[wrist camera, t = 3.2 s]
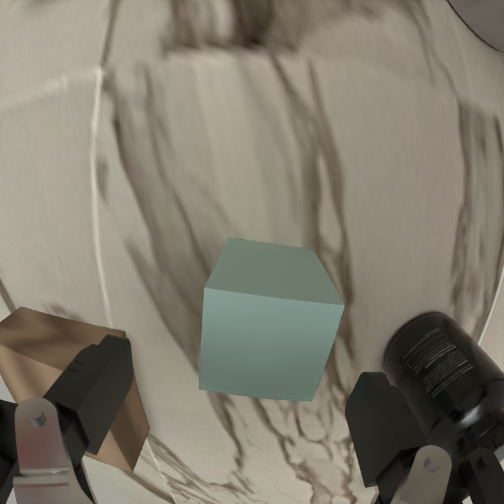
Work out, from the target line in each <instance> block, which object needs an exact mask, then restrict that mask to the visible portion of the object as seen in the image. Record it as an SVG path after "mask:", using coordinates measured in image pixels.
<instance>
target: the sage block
mask: <svg viewBox="0 0 504 504" xmlns="http://www.w3.org/2000/svg"><path fill="white" fill-rule="evenodd" d="M344 307H345V305H344V303H343V301H342V299H341V298H340V296H339V294H338V292H337V290H336V288H335V286H334V285H333V283H332V281H331V279H330V277H329V276H328V274H327V272H326V270H325V268H324V267H323V265H322V263H321V261H320V259H319V258H318V256H317V254H316V252H315V251H314V250H312V249H305V248H298V247H291V246H285V245H278V244H271V243H263V242H256V241H249V240H242V239H235V238H228V240H227V242H226V244H225V246H224V248H223V250H222V252H221V254H220V256H219V258H218V260H217V262H216V264H215V266H214V268H213V270H212V273H211V275H210V277H209V279H208V281H207V283H206V285H205V287H204V299H203V314H202V331H201V351H200V375H199V389H201V390H207V391H213V392H219V393H226V394H233V395H240V396H248V397H257V398H267V399H278V400H292V401H312V399H313V397H314V394H315V392H316V389H317V387H318V384H319V381H320V379H321V376H322V373H323V371H324V368H325V365H326V362H327V360H328V357H329V354H330V351H331V348H332V345H333V342H334V339H335V336H336V333H337V330H338V327H339V323H340V320H341V317H342V314H343V310H344Z"/></svg>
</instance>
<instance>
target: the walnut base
mask: <svg viewBox="0 0 504 504" xmlns="http://www.w3.org/2000/svg"><path fill="white" fill-rule="evenodd" d="M107 334H112V335H115V336H119V337H123V338H126V335H125V331H120V330H115V329H110V328H105V327H100V326H96V325H91V324H86V323H82V322H78V321H73V320H69V319H65V318H61V317H57V316H53V315H50V314H46V313H42V312H39V311H35V310H32V309H28V308H25V307H20V308H19V309H17V310H16V311H14V312H13V313H12V314H10V315H9V316H8V317H6V318H5V319H4V320H3V321H1V322H0V374H1V376H2V378H3V380H4V382H5V384H6V386H7V388H8V390H9V391H10V393H11V395H12V397H13V399H14V400H15V402H16V404H20V403H21V402H22V401H24V400H25V399H28V398H32V397H40V398H42V397H43V396H44V395H45V394H46V392H47V391H48V390H49V388H50V387H51V386H52V385H53V383H54V382H55V381H56V380H57V378H58V377H59V376H60V375H61V374H62V372H63V371H64V370H65V369H67V366H68V365H69V364H70V363H71V361H73V359H74V358H75V357H76V355H77V354H78V353H79V352H80V351H81V350H82V349H84V348H86V347H88V346H89V345H91V344H96V345H98V344H99V343H100V342H101V341H102V340H103V338H104V337H105V336H106V335H107ZM149 429H150V428H149V425H148V422H147V418H146V415H145V412H144V409H143V405H142V402H141V398H140V395H139V391H138V387H137V384H136V380H135V376H134V372H133V382H132V385H131V388H130V390H129V392H128V394H127V396H126V398H125V400H124V402H123V403H122V405H121V407H120V409H119V411H118V413H117V415H116V417H115V419H114V421H113V423H112V425H111V427H110V429H109V431H108V433H107V435H106V437H105V439H104V441H103V443H102V445H101V448H100V450H99V452H98V454H97V456H96V455H94V454H91V453H89V452H86V451H85V453H84V455H85V456H87V457H90V458H92V459H95V460H98V461H100V462H103V463H106V464H109V465H111V466H114V467H117V468H120V469H123V470H127V471H130V472H133V470H134V468H135V465H136V463H137V460H138V457H139V455H140V452H141V450H142V447H143V444H144V442H145V439H146V437H147V434H148V432H149Z"/></svg>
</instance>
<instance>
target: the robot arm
mask: <svg viewBox="0 0 504 504" xmlns="http://www.w3.org/2000/svg"><path fill="white" fill-rule="evenodd" d="M449 2H450V3H451V5H452V7H453V8H454V9H455V10H456V12H457V13H458V14H459V16H460V17H461V18H462V19H463V20H464V21H465V23H466V24H467V25H468V26H469V27H470V28H471V29H472V30H473V31H474V32H475V33H476V34H477V35H478V36H479V37H480V38H482V39H483V40H484V41H485V42H486V43H488V44H489V45H491V46H492V47H494V48H496V49H498V50H500V51H503V52H504V0H449ZM132 382H133V365H132V355H131V345H130V341H129V339H126V338H123V337H119V336H115V335H112V334H107V335H106V336H105V337H104V338H103V340H102V341H101V342H100V343H99V344H98V345H96V344H91V345H89V346H88V347H86V348H84V349H82V350H81V351H80V352H79V353H78V354H77V355H76V357H75V358H74V359H73V361H71V363H70V364H69V365H68V366H67V369H65V370H64V371H63V372H62V374H61V375H60V376H59V377H58V378H57V380H56V381H55V382H54V383H53V385H52V386H51V387H50V388H49V390H48V391H47V392H46V394H45V395H44V396H43V397H42V398H40V397H32V398H28V399H25V400H24V401H22V402H21V403H20V404H16V403H12V402H8V401H4V400H0V504H6V502H7V499H8V497H9V495H10V493H11V491H12V488H13V486H14V492H15V497H16V501H17V504H98V502H97V500H96V497H95V495H94V492H93V490H92V487H91V484H90V482H89V479H88V476H87V473H86V470H85V467H84V464H83V461H82V457H83V455H84V453H85V451H86V452H89V453H91V454H94V455H96V456H97V454H98V452H99V450H100V448H101V445H102V443H103V441H104V439H105V437H106V435H107V433H108V431H109V429H110V427H111V425H112V423H113V421H114V419H115V417H116V415H117V413H118V411H119V409H120V407H121V405H122V403H123V402H124V400H125V398H126V396H127V394H128V392H129V390H130V388H131V385H132ZM345 416H346V420H347V423H348V427H349V430H350V434H351V437H352V441H353V444H354V448H355V452H356V455H357V459H358V463H359V466H360V470H361V474H362V478H363V482H364V485H365V488H367V487H373V486H378V490H379V491H378V492H377V493H376V494H375V495H374V497H373V499H372V501H371V503H370V504H463V503H462V501H463V500H465V499H466V498H467V497H468V496H470V497H471V500H472V503H473V504H504V471H503V469H502V467H501V465H500V463H499V461H498V459H497V457H496V455H495V454H494V453H493V452H492V451H491V450H490V449H488V448H485V447H479V448H476V449H475V450H474V451H473V452H472V453H471V454H470V455H469V456H468V457H467V458H454V457H450V456H449V455H448V453H447V452H446V451H445V450H444V449H442V448H440V447H438V446H433V445H429V443H428V441H427V439H426V437H425V435H424V433H423V431H422V429H421V427H420V425H419V423H418V421H417V419H416V417H415V415H413V411H412V410H411V408H410V407H409V404H408V402H407V400H406V398H405V396H404V394H403V393H402V392H400V391H399V390H398V389H397V388H396V387H395V386H394V385H391V384H390V382H389V381H388V379H387V377H386V375H385V374H384V373H383V372H363V373H362V374H361V375H360V377H359V379H358V381H357V383H356V385H355V387H354V389H353V391H352V393H351V395H350V397H349V399H348V401H347V404H346V408H345Z"/></svg>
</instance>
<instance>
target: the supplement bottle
mask: <svg viewBox="0 0 504 504" xmlns="http://www.w3.org/2000/svg"><path fill="white" fill-rule="evenodd" d="M384 367H385V372H386V375H387V377H388V380H389V382H390V384H391V385H394V386H395V387H396V388H397V389H398V390H399V391H400V392H402V393H403V394H404V396H405V398H406V400H407V402H408V404H409V407H410V408H411V410H412V411H413V415H415V417H416V419H417V421H418V423H419V425H420V427H421V429H422V431H423V433H424V435H425V437H426V439H427V441H428V443H429V445H433V446H438V447H440V448H442V449H444V450H445V451H446V452H447V453H448V455H449V456H450V457H454V458H467V457H468V456H469V455H470V454H471V453H472V452H473V451H474V450H475V449H476V448H479V447H485V448H488V449H490V450H491V451H492V452H493V453H494V454H495V455H496V457H497V459H498V461H499V462H501V460H503V459H504V373H503V372H502V371H501V369H500V368H499V367H498V366H497V365H496V364H495V363H494V362H493V361H492V359H491V358H490V357H489V356H488V355H487V354H486V353H485V352H484V351H483V350H482V349H481V348H480V347H479V346H478V344H477V343H476V342H475V341H474V340H473V339H472V338H471V337H470V336H469V335H468V334H467V333H466V332H465V331H464V330H463V329H462V328H461V327H460V326H459V325H458V324H457V323H456V322H455V321H454V320H452V319H451V318H450V317H449V316H447V315H444V314H440V313H433V314H428V315H424V316H422V317H419V318H417V319H416V320H414V321H412V322H411V323H409V324H408V325H407V326H406V327H405V328H403V329H402V330H401V331H400V332H399V334H398V335H397V336H396V337H395V338H394V340H393V341H392V343H391V345H390V347H389V349H388V351H387V354H386V357H385V363H384Z"/></svg>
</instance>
